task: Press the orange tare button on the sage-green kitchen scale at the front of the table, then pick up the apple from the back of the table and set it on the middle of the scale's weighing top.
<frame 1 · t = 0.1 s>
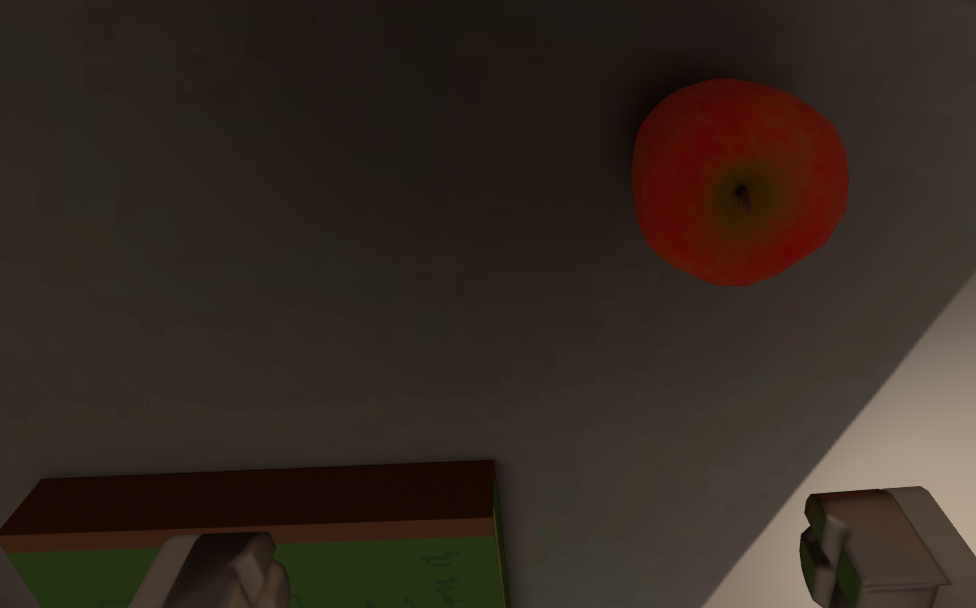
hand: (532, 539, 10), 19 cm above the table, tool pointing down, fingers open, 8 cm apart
hardcover book: (296, 584, 40), on the table
apple: (693, 134, 26), on the table
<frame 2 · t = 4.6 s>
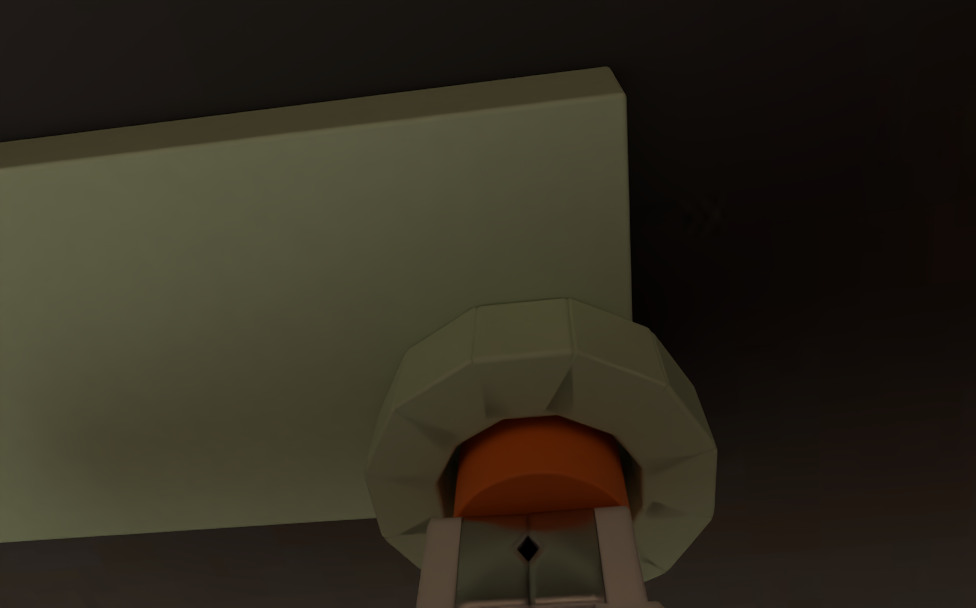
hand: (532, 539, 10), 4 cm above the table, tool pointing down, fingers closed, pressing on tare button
scale: (268, 313, 14), on the table
tare button: (540, 496, 11), point 3 cm above the table, slide at -0.4 cm, touching gripper
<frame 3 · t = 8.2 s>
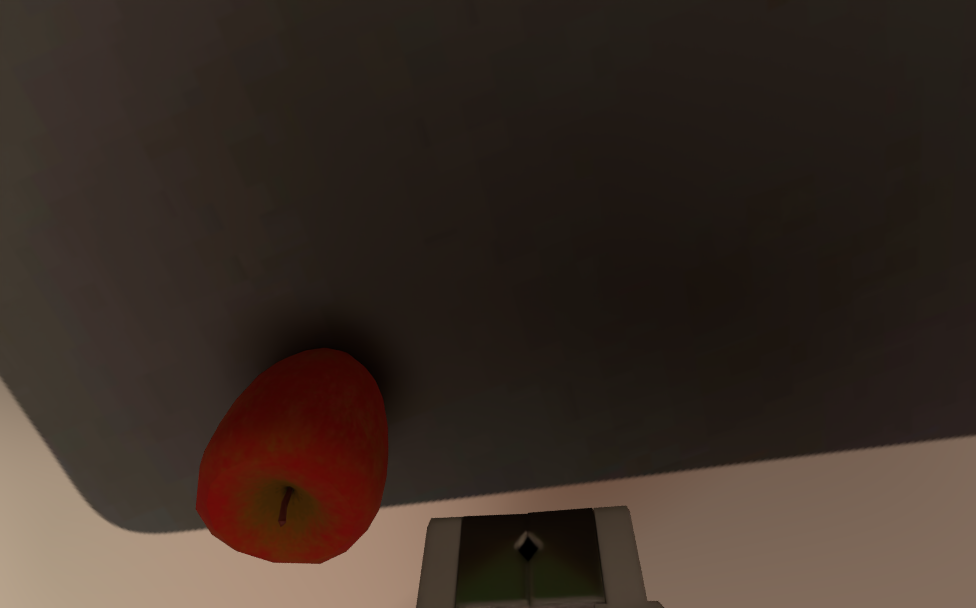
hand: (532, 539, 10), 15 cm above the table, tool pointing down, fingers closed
apple: (331, 381, 28), on the table
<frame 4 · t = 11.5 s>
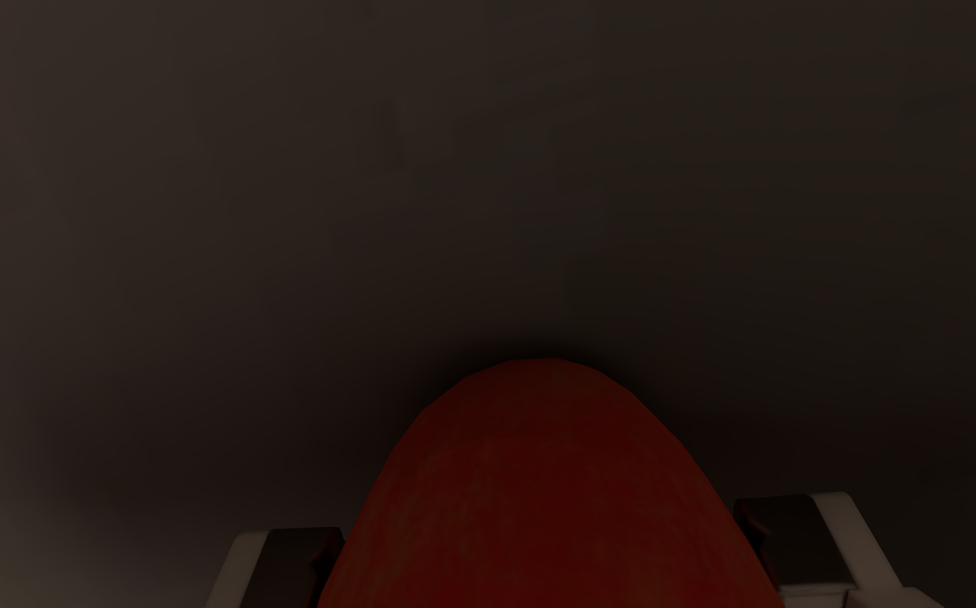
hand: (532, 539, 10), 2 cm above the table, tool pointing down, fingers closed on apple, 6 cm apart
apple: (533, 429, 13), on the table, touching gripper
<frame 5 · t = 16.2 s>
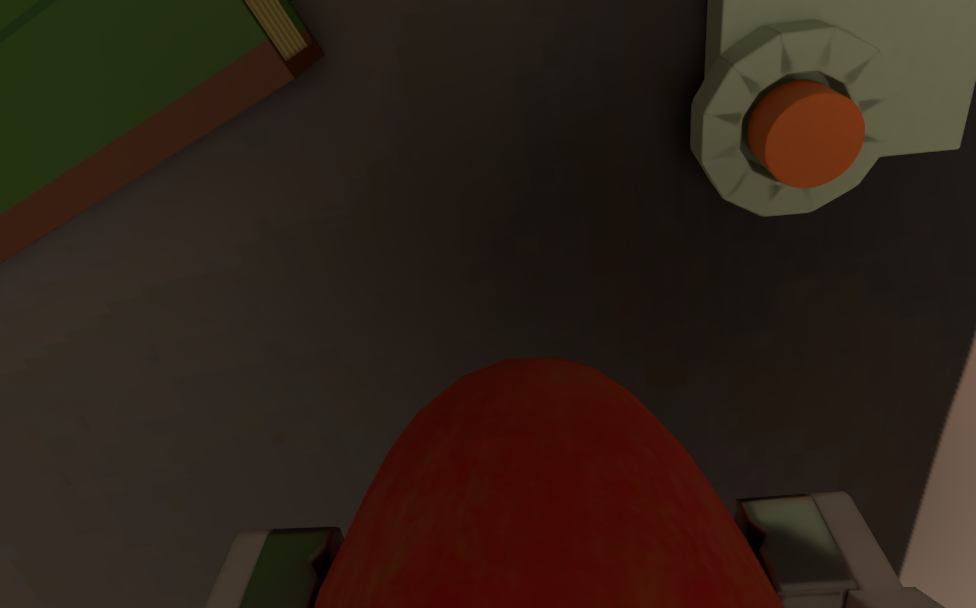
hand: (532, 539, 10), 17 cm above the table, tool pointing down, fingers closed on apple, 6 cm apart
tare button: (803, 133, 20), point 4 cm above the table, slide at 0.1 cm
apple: (532, 428, 13), point 15 cm above the table, touching gripper
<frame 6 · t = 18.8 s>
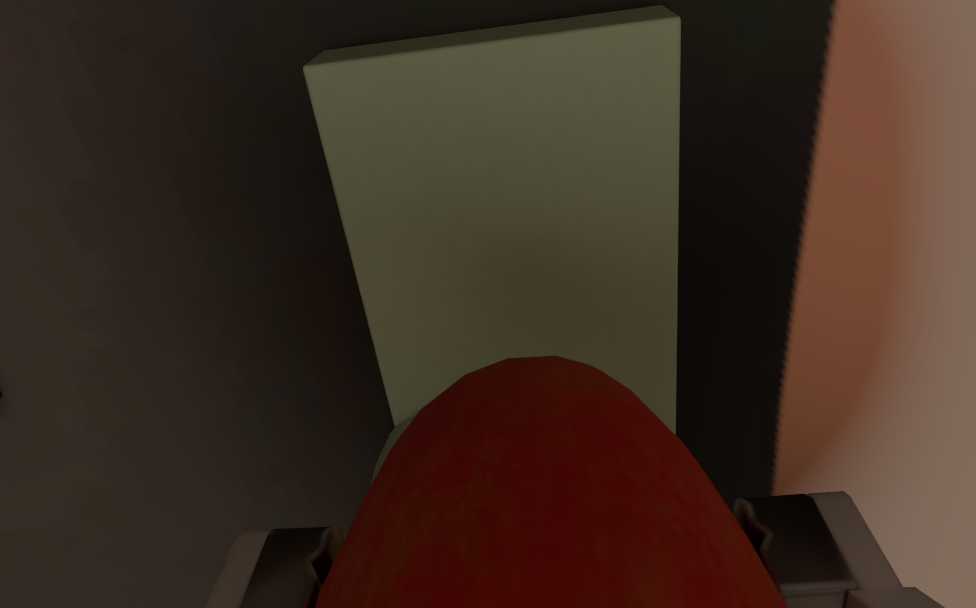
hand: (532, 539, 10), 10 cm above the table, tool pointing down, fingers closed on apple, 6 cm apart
scale: (520, 289, 19), on the table
apple: (533, 428, 13), point 7 cm above the table, touching gripper
when the fingers open (4 cm above the table, at t = 20.9 s): apple stays where it is, resting on scale.
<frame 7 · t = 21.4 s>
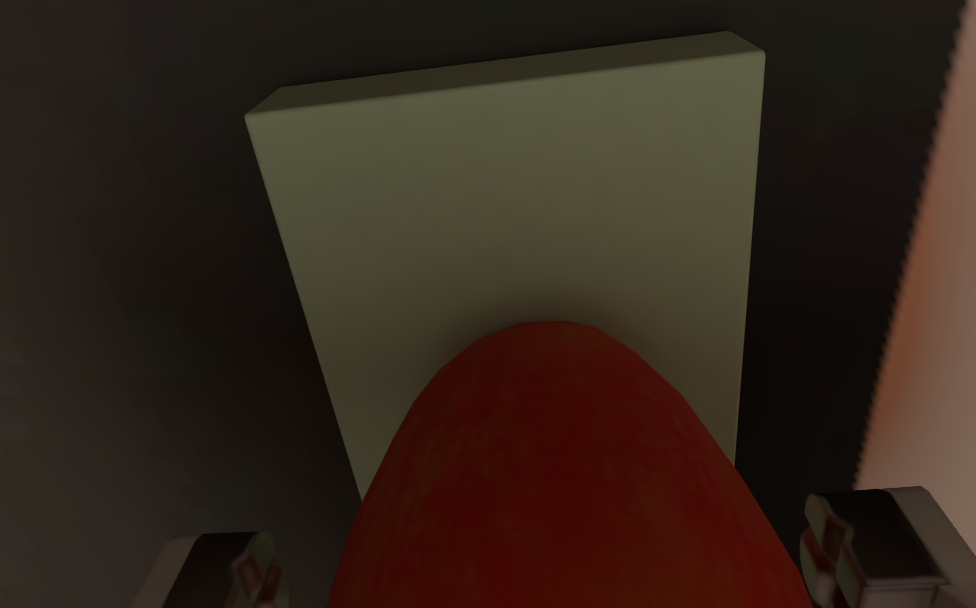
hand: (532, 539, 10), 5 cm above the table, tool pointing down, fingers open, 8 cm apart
scale: (534, 379, 15), on the table
apple: (542, 391, 13), point 2 cm above the table, touching scale
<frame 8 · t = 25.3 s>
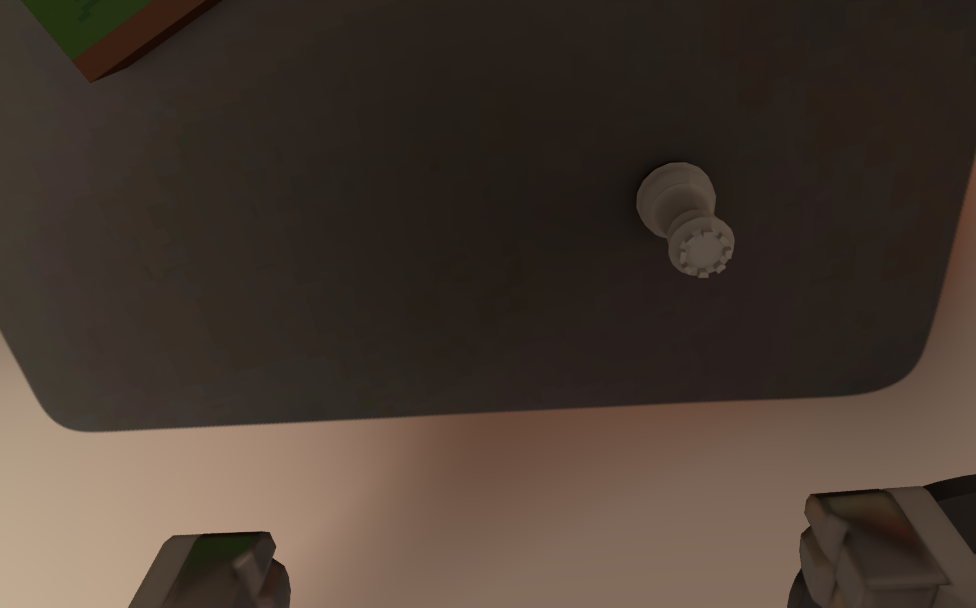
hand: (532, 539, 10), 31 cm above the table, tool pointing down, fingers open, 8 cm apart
rook chess piece: (672, 194, 40), on the table
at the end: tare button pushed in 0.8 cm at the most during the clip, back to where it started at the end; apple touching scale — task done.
